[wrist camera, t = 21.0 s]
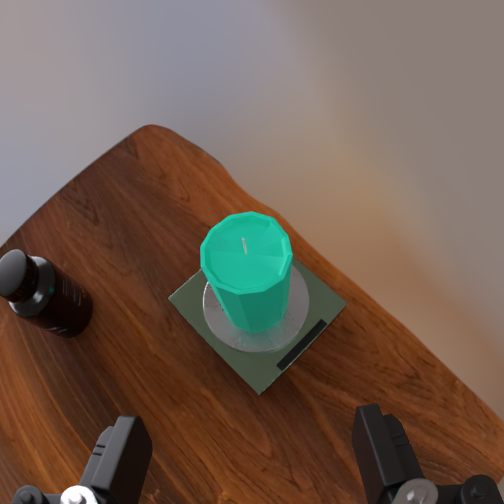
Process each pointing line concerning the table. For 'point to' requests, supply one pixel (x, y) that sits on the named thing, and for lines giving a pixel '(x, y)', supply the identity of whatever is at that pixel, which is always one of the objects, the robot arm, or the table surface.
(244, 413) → the table surface
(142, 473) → the robot arm
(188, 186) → the table surface
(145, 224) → the table surface
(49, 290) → the supplement bottle
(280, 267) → the candle
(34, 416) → the table surface
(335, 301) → the scale
